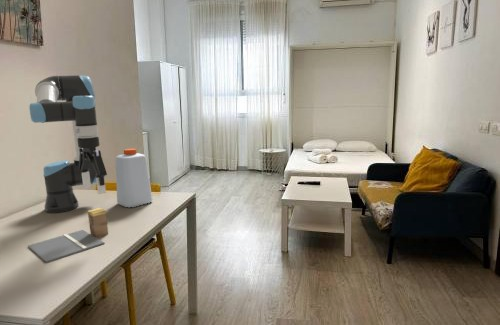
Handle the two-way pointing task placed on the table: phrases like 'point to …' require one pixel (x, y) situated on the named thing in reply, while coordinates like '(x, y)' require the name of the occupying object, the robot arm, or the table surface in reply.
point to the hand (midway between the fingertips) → (94, 190)
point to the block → (98, 222)
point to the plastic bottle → (132, 179)
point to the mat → (65, 245)
